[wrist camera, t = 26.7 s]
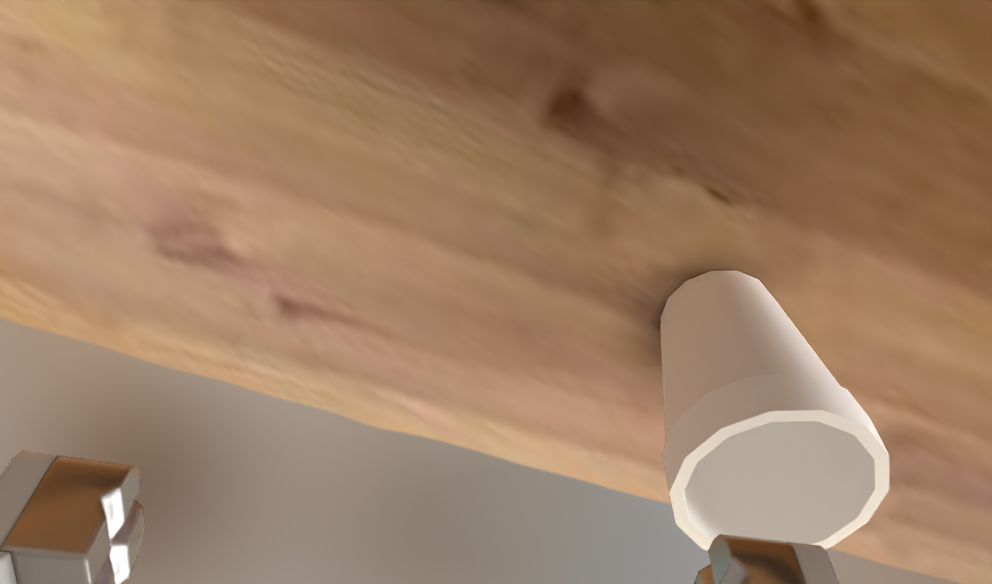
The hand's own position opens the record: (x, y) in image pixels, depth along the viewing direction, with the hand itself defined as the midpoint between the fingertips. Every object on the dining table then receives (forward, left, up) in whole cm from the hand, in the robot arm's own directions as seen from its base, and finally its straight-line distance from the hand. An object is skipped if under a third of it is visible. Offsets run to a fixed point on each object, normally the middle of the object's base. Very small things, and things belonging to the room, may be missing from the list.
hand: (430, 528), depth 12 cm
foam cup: (-16, +16, -31) cm, 39 cm away
